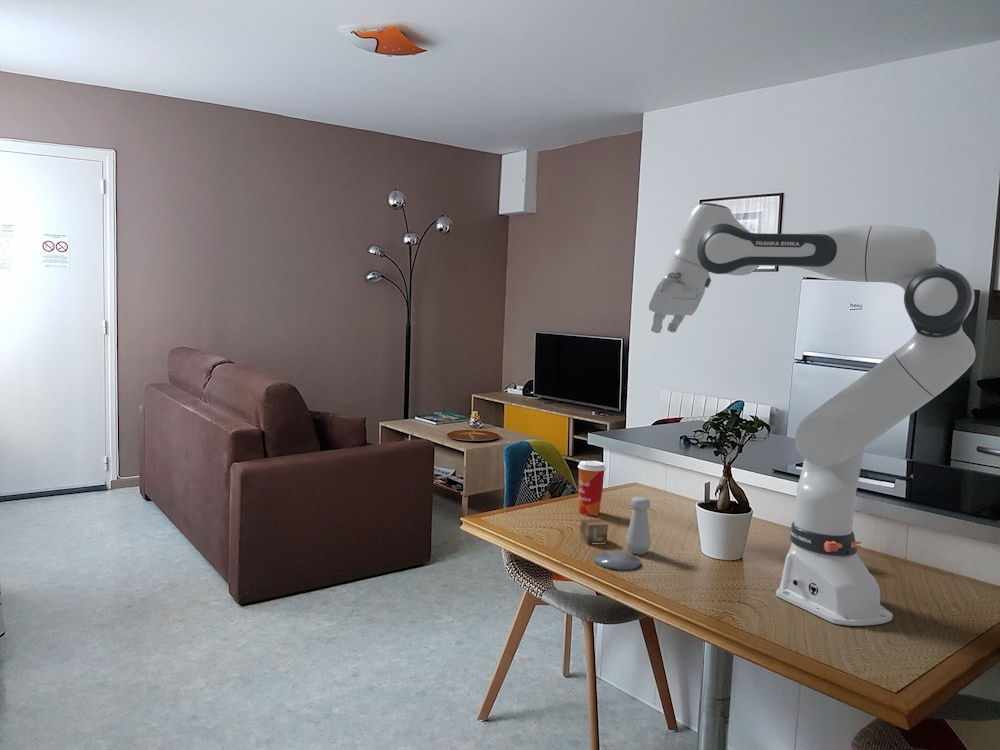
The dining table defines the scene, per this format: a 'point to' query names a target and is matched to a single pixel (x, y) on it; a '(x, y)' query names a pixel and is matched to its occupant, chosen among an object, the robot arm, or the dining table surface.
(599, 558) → the coaster
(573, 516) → the dining table surface
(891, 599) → the dining table surface
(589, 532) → the cube
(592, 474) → the paper cup
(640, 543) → the salt shaker
